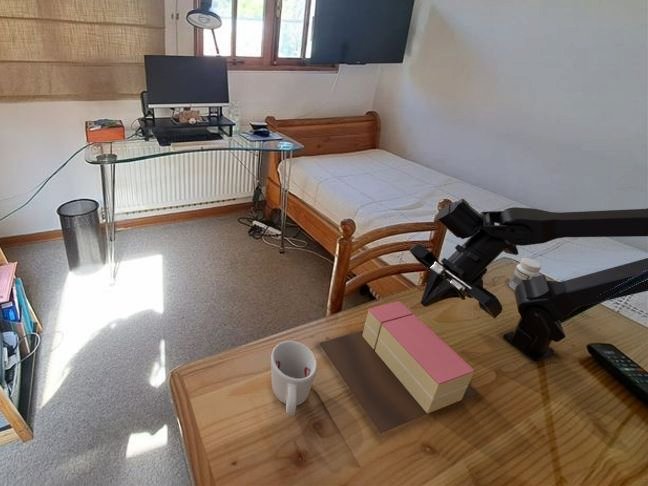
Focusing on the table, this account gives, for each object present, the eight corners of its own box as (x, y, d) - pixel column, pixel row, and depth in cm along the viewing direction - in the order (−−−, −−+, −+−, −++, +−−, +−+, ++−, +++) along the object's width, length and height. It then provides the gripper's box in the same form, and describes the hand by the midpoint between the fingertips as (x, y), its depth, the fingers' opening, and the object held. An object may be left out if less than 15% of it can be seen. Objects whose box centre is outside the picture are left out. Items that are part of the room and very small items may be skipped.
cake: (405, 341, 71) (414, 314, 69) (461, 400, 60) (475, 370, 57) (374, 350, 69) (381, 323, 66) (427, 414, 58) (439, 383, 55)
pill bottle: (526, 285, 91) (538, 259, 88) (534, 296, 87) (547, 270, 84) (505, 280, 92) (516, 255, 89) (512, 292, 88) (524, 265, 85)
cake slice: (391, 327, 75) (399, 300, 72) (404, 340, 72) (413, 313, 69) (361, 335, 72) (368, 308, 70) (373, 349, 69) (381, 322, 66)
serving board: (400, 322, 77) (401, 319, 77) (476, 397, 62) (477, 393, 61) (317, 346, 71) (318, 342, 70) (378, 436, 55) (379, 433, 55)
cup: (312, 436, 55) (319, 403, 52) (263, 424, 56) (267, 391, 53) (311, 375, 65) (316, 344, 62) (269, 366, 66) (273, 336, 63)
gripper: (532, 300, 67) (475, 354, 68) (449, 247, 83) (404, 291, 84) (519, 275, 62) (457, 334, 63) (433, 224, 78) (385, 271, 79)
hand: (422, 304), depth 72 cm, fingers closed
